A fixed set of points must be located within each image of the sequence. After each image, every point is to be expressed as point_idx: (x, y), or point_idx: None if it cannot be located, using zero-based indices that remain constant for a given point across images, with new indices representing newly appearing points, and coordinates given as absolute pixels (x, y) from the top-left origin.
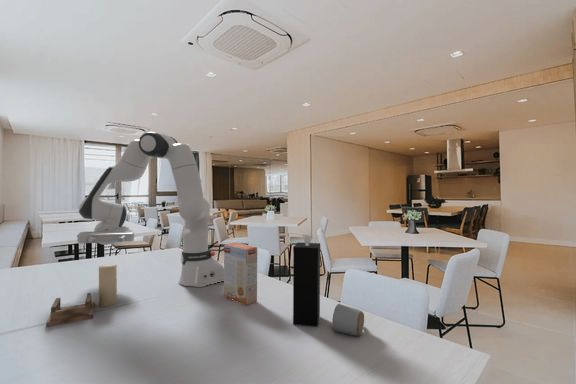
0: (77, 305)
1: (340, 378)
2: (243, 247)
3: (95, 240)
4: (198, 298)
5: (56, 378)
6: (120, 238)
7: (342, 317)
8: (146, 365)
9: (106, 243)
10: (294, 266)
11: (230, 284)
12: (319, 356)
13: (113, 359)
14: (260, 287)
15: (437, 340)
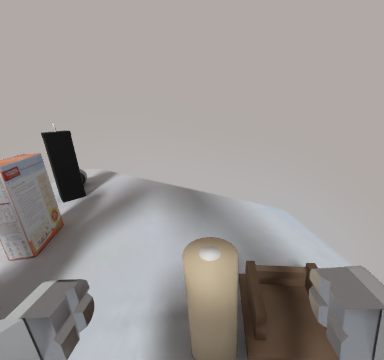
0: (293, 349)
1: (127, 175)
2: (27, 155)
3: (312, 278)
4: (63, 269)
5: (246, 201)
6: (74, 280)
7: (84, 173)
8: (192, 195)
9: None
10: (73, 148)
11: (39, 223)
12: (116, 181)
13: (211, 204)
14: None
15: None
